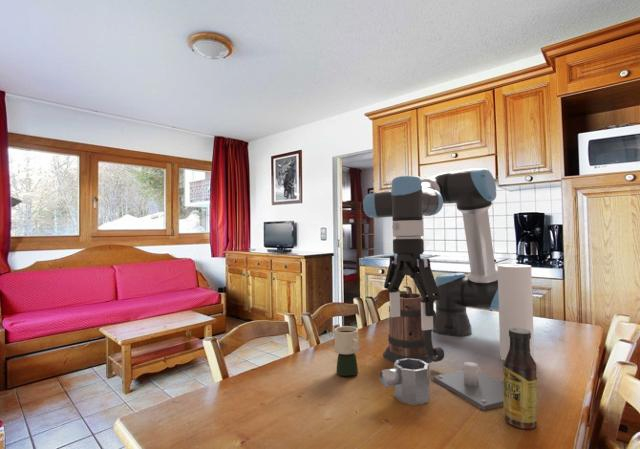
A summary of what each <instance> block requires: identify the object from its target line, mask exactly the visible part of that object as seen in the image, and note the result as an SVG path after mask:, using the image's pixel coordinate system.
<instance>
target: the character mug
mask: <svg viewBox="0 0 640 449" xmlns="http://www.w3.org/2000/svg"><path fill="white" fill-rule="evenodd" d="M333 334H334V337H333V338H334V351H335V353H337V354H338V355H337V361H336V374H337V375H339V376H345V377H348V376H349V377H350V376H353V375H357V374H358V373H359V369H358V362H357V356H356V353H357V352H358V351H359V350H360V346H359V338H360V337H359V336H360V335H359V328H358V327H356V326H349V325H343V326H337V327H336V328H334V331H333Z"/></svg>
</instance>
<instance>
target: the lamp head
mask: <svg viewBox="0 0 640 449" xmlns="http://www.w3.org/2000/svg"><path fill="white" fill-rule="evenodd" d="M429 364H430V363H429ZM429 364H428V363H426V362H424V361H422V360H419V359H411V358H405V359H399V360H396V362H395V363H394V364H393V367H392V368H388V369H382V370H380V372H379V380H380V383H381V385H382V386H383V387H384V388H387V387H394V397H395V398H396V399H397V400H398V401H399V402H401V403H403V404H407V405H413V406H419V405H422V404H427V403H429V400H430V396H431V394H430V392H431V391H430V366H429Z"/></svg>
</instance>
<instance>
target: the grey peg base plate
mask: <svg viewBox="0 0 640 449" xmlns="http://www.w3.org/2000/svg"><path fill="white" fill-rule="evenodd" d="M432 381H434V382H436V383H437V384H439V385H440V386H442V387H444V388H446V389H447V390H449V391H450V392H452V393H454V394H456V395H457V396H460V397H461V398H463V399H464V400H466V401H467V402H469V403H471V404H472V405H474V406H475V407H478V408H480V409H481V410H483V411H487V410H491V409H495V408H498V407H499V408H500V407H504V403H503V402H504V398H503V381H500V380H499V379H496V378H494V377H492V376H490V375H488V374H486V373H484V372H481V371H480V370H479V364H478V363H476V362H472V361H465V362H463V369H461V370H455V371H450V372H446V373H442V374H436V375H432Z"/></svg>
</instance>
